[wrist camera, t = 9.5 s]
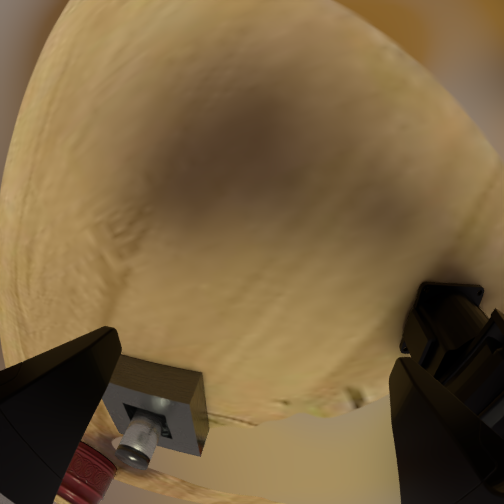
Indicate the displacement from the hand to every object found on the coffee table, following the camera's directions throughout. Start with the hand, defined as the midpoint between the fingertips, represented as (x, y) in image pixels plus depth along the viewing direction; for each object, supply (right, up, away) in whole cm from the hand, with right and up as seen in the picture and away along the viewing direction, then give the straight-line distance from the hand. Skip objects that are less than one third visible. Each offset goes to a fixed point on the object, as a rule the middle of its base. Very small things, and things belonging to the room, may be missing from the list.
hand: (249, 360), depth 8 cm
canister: (-33, -39, +34) cm, 61 cm away
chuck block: (-14, -12, +20) cm, 27 cm away
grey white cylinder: (-10, -12, +18) cm, 24 cm away
